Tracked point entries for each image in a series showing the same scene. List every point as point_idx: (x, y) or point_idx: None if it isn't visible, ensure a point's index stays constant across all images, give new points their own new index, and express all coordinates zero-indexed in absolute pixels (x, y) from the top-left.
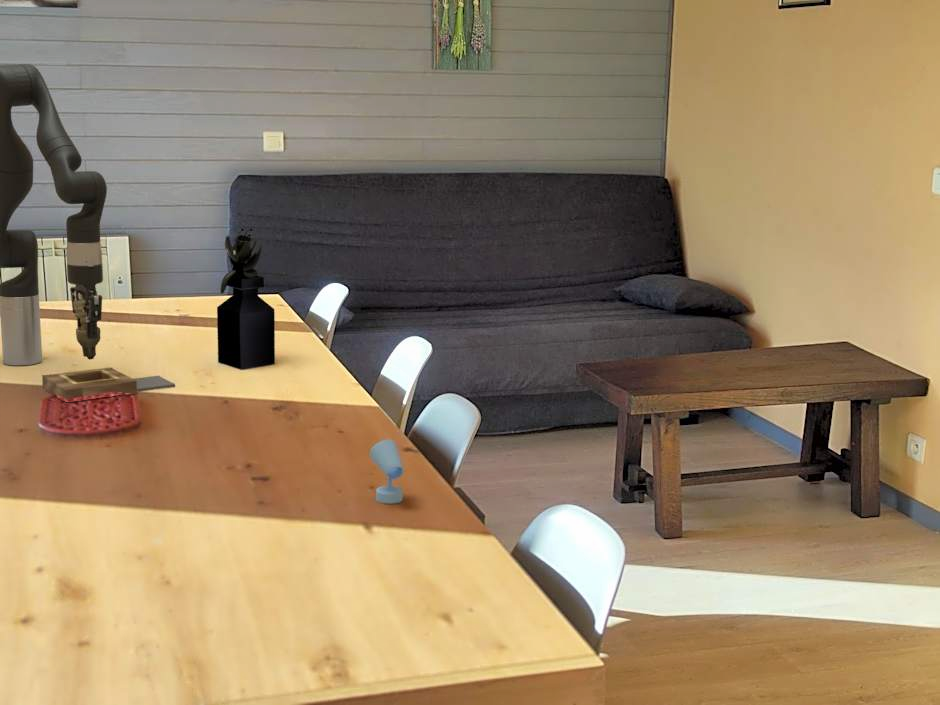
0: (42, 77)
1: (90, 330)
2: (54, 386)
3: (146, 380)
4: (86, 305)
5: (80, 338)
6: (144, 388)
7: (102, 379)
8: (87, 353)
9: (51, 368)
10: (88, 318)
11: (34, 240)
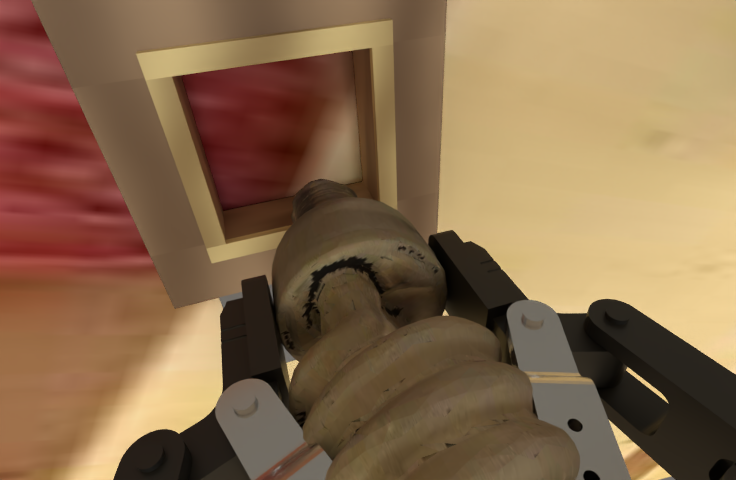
0: None
1: (223, 343)
2: None
3: None
4: None
5: (304, 228)
6: (222, 302)
7: (209, 199)
8: (298, 207)
9: (677, 55)
10: (159, 452)
11: None
